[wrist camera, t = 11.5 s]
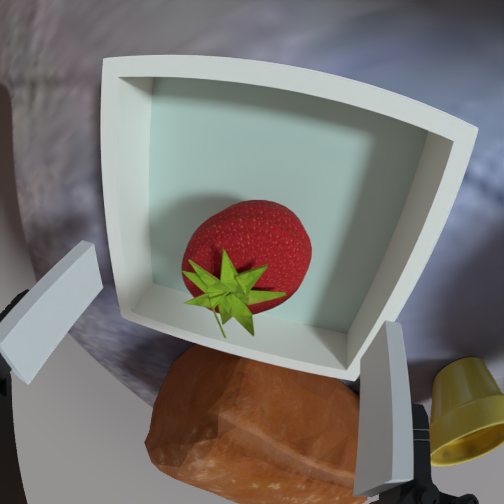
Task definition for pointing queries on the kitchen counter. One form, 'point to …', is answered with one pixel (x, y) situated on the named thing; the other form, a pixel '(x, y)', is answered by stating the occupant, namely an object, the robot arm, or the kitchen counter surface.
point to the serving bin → (274, 195)
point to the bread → (255, 430)
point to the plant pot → (465, 413)
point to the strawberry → (246, 260)
